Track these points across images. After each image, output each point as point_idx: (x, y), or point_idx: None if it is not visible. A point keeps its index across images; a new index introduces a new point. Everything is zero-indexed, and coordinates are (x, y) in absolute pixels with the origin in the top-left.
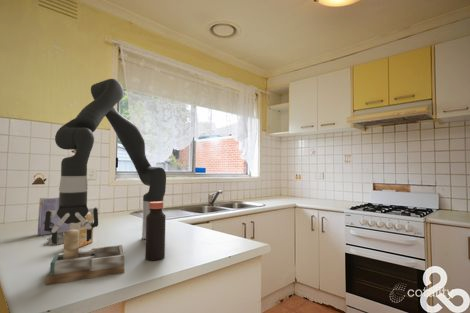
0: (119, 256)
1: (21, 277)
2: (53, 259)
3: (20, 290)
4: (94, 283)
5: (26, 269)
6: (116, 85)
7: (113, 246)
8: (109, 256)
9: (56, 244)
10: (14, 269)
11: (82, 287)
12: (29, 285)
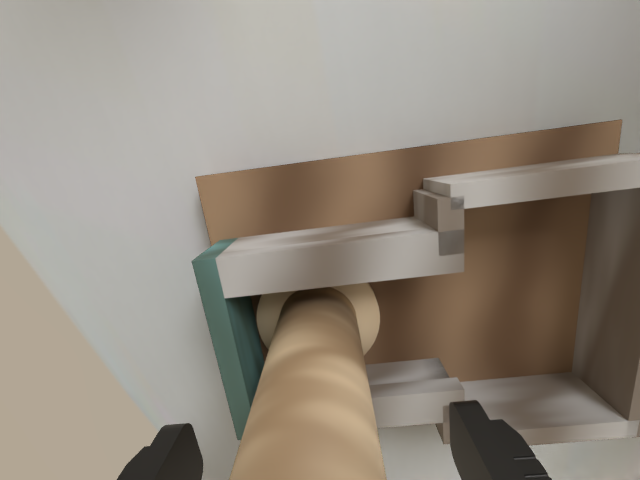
0: (614, 435)
1: (116, 300)
2: (228, 383)
3: None
4: (440, 450)
5: (72, 186)
6: None
7: (623, 188)
8: (557, 426)
9: (200, 473)
10: (3, 164)
11: (401, 468)
12: (199, 397)
